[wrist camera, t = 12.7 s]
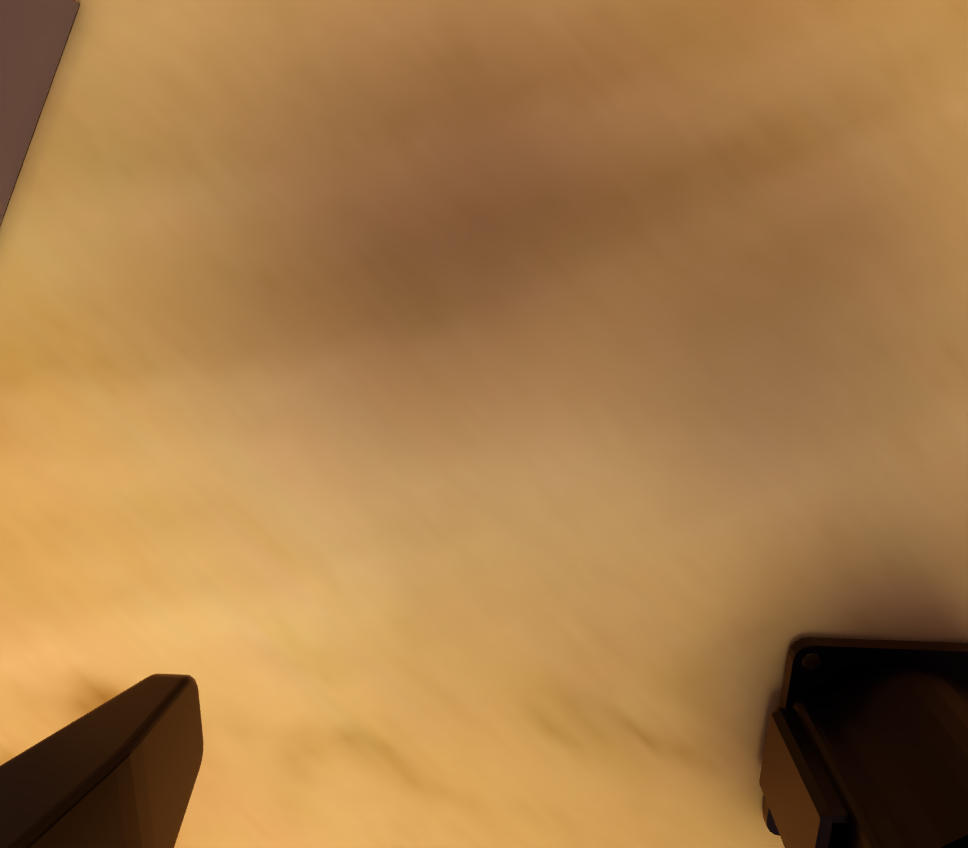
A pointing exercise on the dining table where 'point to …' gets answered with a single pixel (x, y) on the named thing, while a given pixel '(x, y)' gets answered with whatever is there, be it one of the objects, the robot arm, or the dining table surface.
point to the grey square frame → (26, 75)
